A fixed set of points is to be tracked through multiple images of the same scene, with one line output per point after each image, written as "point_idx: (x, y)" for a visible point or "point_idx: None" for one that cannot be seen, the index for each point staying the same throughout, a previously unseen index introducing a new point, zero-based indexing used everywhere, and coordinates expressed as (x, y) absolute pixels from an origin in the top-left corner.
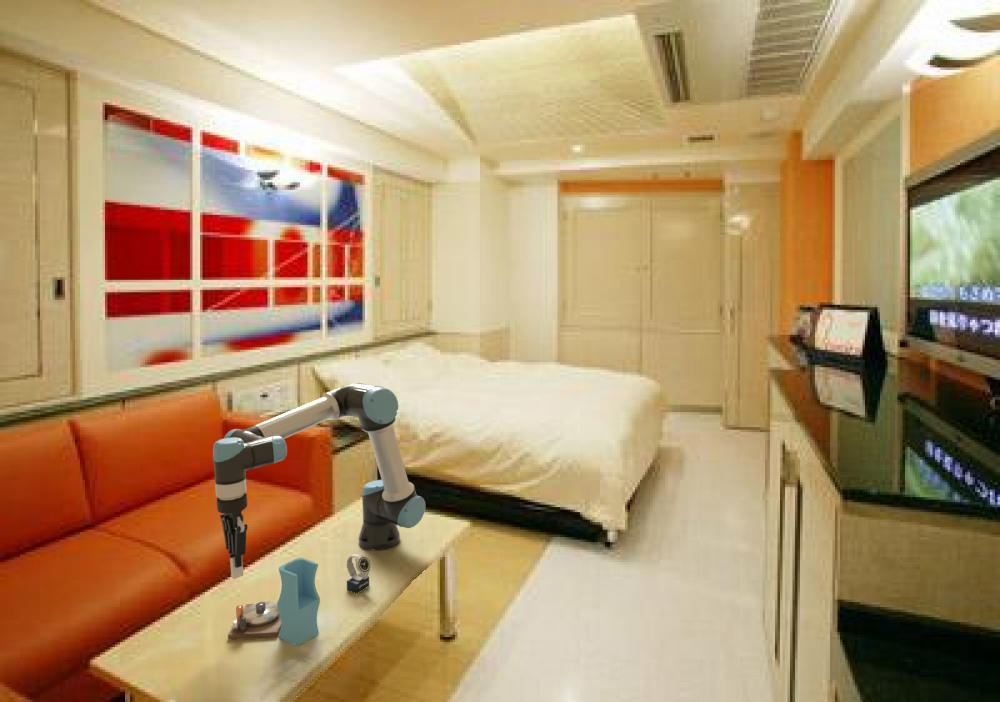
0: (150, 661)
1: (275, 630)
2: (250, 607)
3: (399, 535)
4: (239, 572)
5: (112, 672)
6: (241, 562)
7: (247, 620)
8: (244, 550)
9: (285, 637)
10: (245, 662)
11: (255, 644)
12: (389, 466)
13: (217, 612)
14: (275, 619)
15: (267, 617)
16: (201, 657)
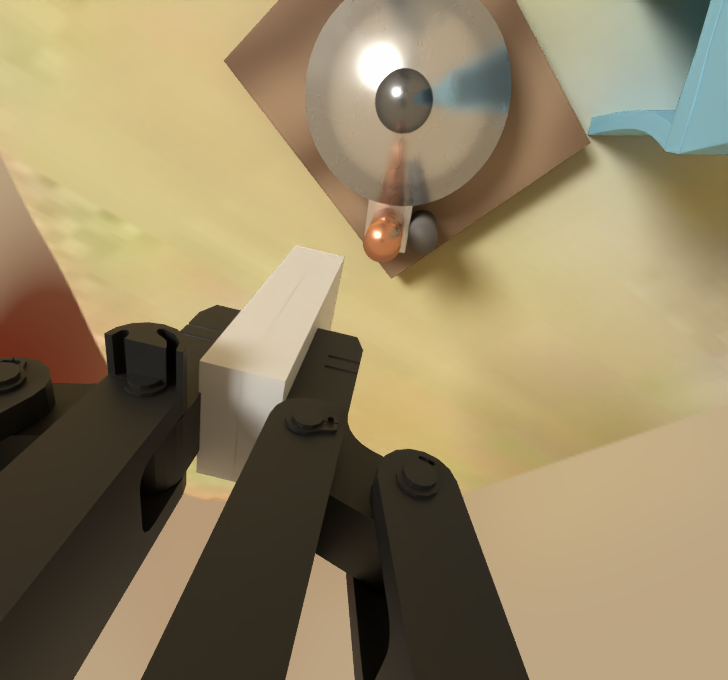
0: None
1: (571, 137)
2: (323, 113)
3: None
4: (330, 304)
5: None
6: (356, 367)
7: (419, 204)
8: (474, 559)
9: (646, 133)
10: (576, 321)
11: (523, 231)
12: None
13: (161, 170)
14: None
15: (495, 125)
16: (402, 373)
